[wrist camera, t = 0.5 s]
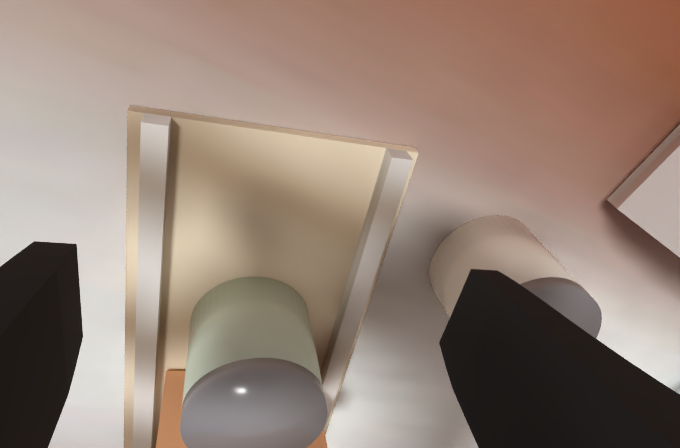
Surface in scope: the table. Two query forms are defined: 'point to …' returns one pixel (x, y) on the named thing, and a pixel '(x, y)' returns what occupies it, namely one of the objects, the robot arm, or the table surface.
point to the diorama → (655, 194)
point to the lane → (248, 236)
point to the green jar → (252, 369)
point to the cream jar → (510, 268)
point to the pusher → (170, 415)
